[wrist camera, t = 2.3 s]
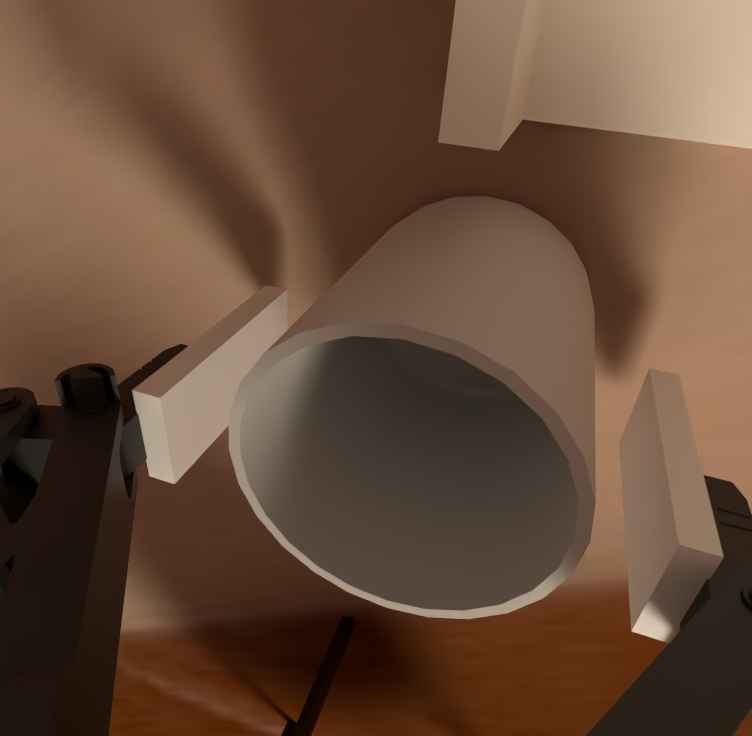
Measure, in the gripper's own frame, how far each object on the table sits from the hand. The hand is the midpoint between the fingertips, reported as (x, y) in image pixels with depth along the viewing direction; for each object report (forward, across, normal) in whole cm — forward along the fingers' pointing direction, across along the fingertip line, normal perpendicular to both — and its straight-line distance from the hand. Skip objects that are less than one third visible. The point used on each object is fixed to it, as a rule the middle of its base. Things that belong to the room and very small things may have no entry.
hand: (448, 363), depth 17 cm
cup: (+2, 0, 0) cm, 2 cm away
